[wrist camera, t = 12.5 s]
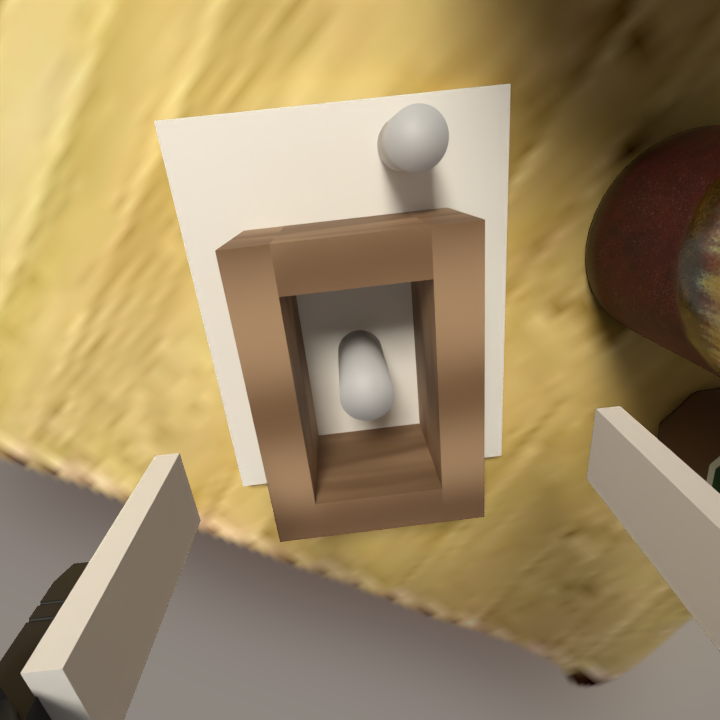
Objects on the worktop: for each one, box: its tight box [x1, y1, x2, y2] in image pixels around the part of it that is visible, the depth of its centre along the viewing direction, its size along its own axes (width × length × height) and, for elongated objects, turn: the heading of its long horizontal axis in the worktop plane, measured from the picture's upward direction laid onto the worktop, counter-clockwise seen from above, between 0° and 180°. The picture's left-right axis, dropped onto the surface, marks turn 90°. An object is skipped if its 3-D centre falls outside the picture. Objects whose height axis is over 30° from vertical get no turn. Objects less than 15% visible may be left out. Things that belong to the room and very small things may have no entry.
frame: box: [215, 207, 485, 542], centre depth 22 cm, size 14×10×6 cm
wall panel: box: [154, 84, 511, 486], centre depth 22 cm, size 20×16×6 cm
